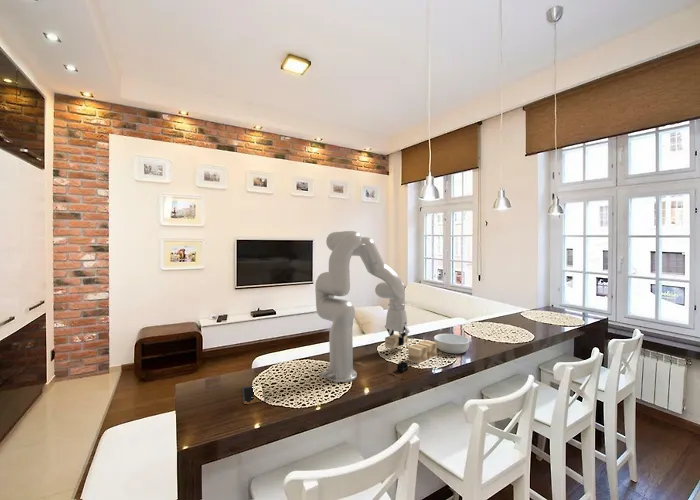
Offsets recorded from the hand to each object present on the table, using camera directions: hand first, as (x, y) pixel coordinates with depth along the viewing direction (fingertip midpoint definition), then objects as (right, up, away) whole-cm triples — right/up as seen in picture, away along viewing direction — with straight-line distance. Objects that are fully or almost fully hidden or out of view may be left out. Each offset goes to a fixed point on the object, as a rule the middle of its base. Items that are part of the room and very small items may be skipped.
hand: (396, 343), depth 151 cm
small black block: (-1, -6, -23) cm, 24 cm away
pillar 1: (+8, -4, -12) cm, 15 cm away
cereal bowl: (+28, -5, +1) cm, 28 cm away
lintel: (0, -1, 0) cm, 1 cm away
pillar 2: (+14, -4, -6) cm, 16 cm away
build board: (+11, -5, -9) cm, 15 cm away
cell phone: (-58, -7, -40) cm, 71 cm away
